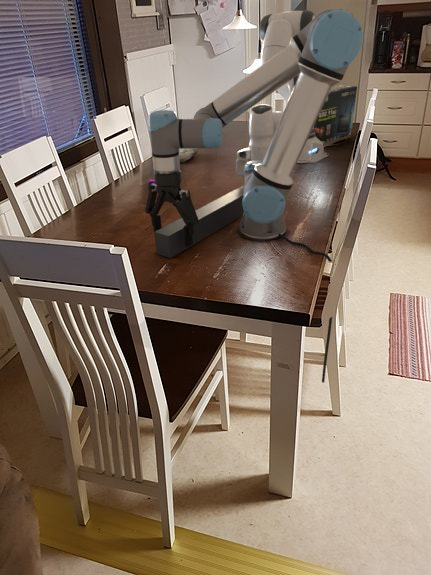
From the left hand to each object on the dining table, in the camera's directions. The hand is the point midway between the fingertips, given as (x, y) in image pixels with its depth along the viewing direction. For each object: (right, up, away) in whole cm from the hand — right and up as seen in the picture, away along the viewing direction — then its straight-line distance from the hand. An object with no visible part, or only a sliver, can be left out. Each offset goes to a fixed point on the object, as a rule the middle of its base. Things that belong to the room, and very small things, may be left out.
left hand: (173, 240), depth 139 cm
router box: (+71, +63, +105) cm, 142 cm away
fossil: (-6, +50, +90) cm, 103 cm away
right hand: (+30, +23, +34) cm, 51 cm away
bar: (+15, +8, +19) cm, 26 cm away
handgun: (-10, +27, +51) cm, 58 cm away
